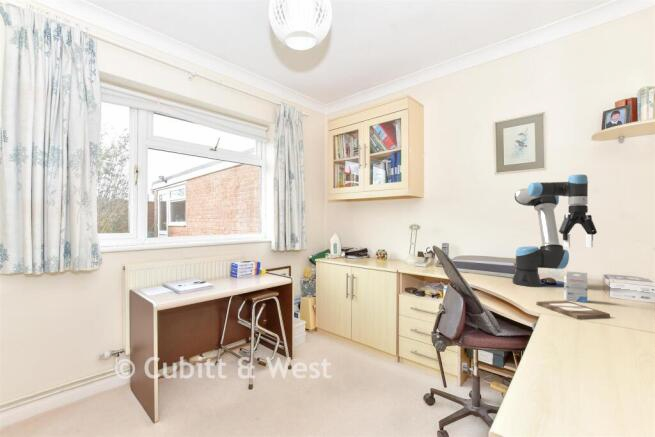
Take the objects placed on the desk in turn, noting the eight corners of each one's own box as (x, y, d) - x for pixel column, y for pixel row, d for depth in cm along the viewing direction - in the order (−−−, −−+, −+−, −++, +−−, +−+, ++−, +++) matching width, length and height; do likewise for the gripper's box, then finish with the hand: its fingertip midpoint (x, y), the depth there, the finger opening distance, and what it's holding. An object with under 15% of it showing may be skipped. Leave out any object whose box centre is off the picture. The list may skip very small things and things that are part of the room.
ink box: (584, 300, 152) (585, 271, 151) (587, 303, 147) (588, 272, 147) (563, 298, 155) (563, 269, 155) (565, 300, 151) (566, 271, 151)
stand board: (536, 304, 143) (536, 301, 143) (565, 303, 146) (565, 299, 146) (577, 319, 124) (577, 314, 124) (609, 317, 126) (609, 313, 126)
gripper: (564, 204, 147) (564, 247, 146) (606, 205, 151) (606, 247, 150) (550, 205, 154) (550, 246, 153) (590, 206, 158) (590, 246, 158)
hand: (578, 247), depth 152 cm, fingers open, 13 cm apart
